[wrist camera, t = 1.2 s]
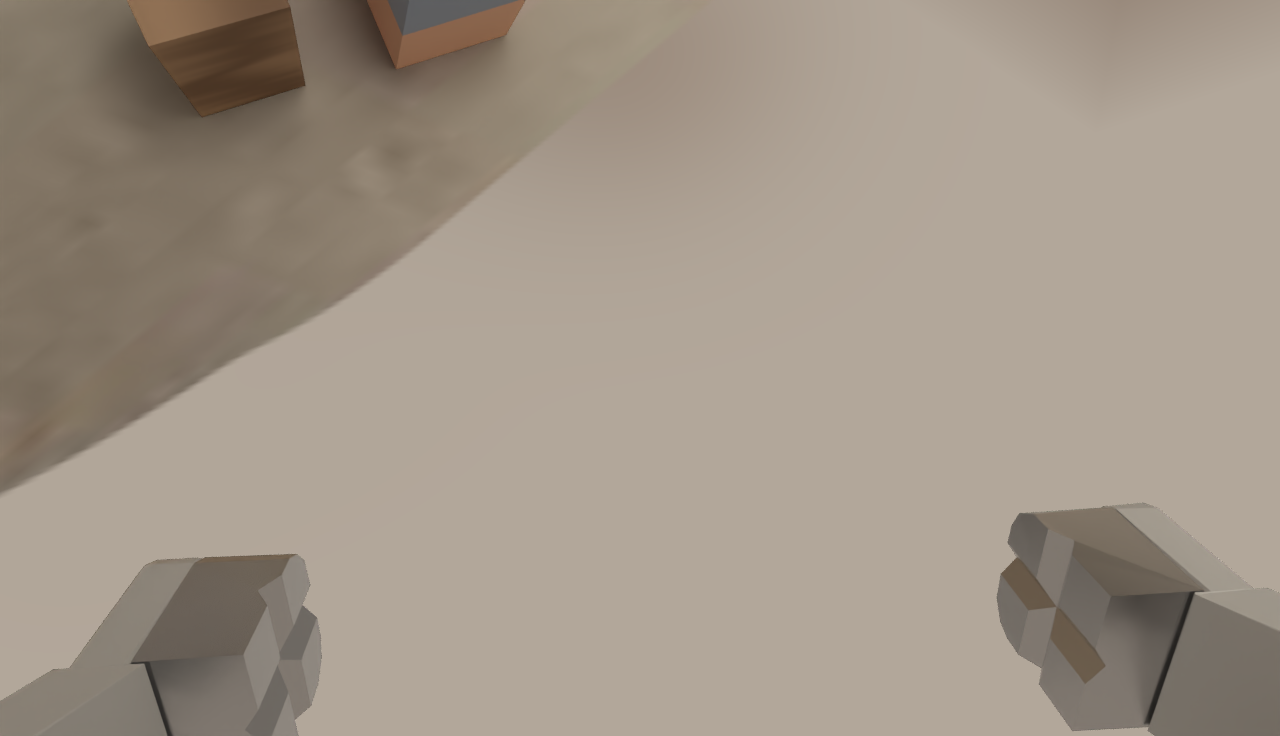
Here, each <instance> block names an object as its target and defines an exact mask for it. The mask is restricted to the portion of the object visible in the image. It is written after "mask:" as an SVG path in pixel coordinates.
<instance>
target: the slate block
mask: <svg viewBox="0 0 1280 736" xmlns="http://www.w3.org/2000/svg"><path fill="white" fill-rule="evenodd" d="M515 1H518V0H388V3H389V5H390V7H391V10H392V12H393V15H394V17H395V19H396V22H397V24H398V26H399V29H400V31H401V34H402V36H404V35H407V34H410V33H414V32H417V31H420V30H423V29H427V28H430V27H433V26H436V25H440V24H443V23H446V22H449V21H453V20H456V19H459V18H463V17H466V16H469V15H472V14H476V13H479V12H482V11H485V10H489V9H492V8H495V7H498V6H502V5H505V4H508V3H511V2H515Z"/></svg>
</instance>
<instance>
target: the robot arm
mask: <svg viewBox="0 0 1280 736" xmlns="http://www.w3.org/2000/svg"><path fill="white" fill-rule="evenodd" d="M1008 544H1009V545H1010V547H1011V549H1012V551H1013V552H1014V554H1015V555H1016V557H1017V558H1016V559H1015V560H1014V561H1013V562H1012V563H1011V564H1010V565H1009V566H1008V567H1007V568H1006V569H1005V570H1004V571H1003V572H1002V573H1001V576H1000V582H999V588H998V593H997V602H998V609H999V616H1000V622H1001V624H1002V627H1003V629H1004V632H1005V634H1006V636H1007V639H1008V640H1009V641H1010V643H1011V644H1012V646H1013V647H1014V649H1015V650H1016V652H1017V653H1018V655H1020V656H1022V657H1024V658H1025V659H1027V660H1028V661H1030V662H1032V663H1034V664H1035V665H1037V666H1039V667H1040V668H1042V669H1041V675H1040V681H1039V685H1040V686H1041V688H1042V689H1043V690H1044V692H1045V693H1046V695H1047V696H1048V697H1049V699H1050V700H1051V701H1052V703H1053V704H1054V706H1055V707H1056V709H1057V710H1058V712H1059V713H1060V714H1061V716H1062V717H1063V718H1064V720H1065V721H1066V723H1067V724H1068V726H1069V727H1070V728H1071V730H1072V731H1081V730H1100V729H1119V728H1139V727H1149V728H1148V731H1149V732H1150V733H1152V734H1153V735H1154V736H1280V593H1279V592H1276V591H1274V590H1272V589H1269V588H1257V589H1254V588H1253V587H1252V586H1250V585H1249V584H1248V583H1247V582H1246V581H1244V580H1243V579H1242V578H1241V577H1240V576H1239V575H1237V574H1236V573H1235V572H1234V571H1233V570H1231V569H1230V568H1229V567H1228V566H1227V565H1225V564H1224V563H1223V562H1222V561H1221V560H1220V559H1218V558H1217V557H1216V556H1215V555H1213V554H1212V553H1211V552H1210V551H1209V550H1208V549H1207V548H1205V547H1204V546H1203V545H1202V544H1200V543H1199V542H1198V541H1197V540H1196V539H1195V538H1193V537H1192V536H1191V535H1190V534H1189V533H1188V532H1186V531H1185V530H1184V529H1183V528H1181V527H1180V526H1179V525H1178V524H1177V523H1176V522H1174V521H1173V520H1172V519H1171V518H1170V517H1169V516H1167V515H1166V514H1165V513H1164V512H1163V511H1161V510H1160V509H1159V508H1157V507H1154V506H1152V505H1149V504H1146V503H1136V504H1126V505H1115V506H1103V507H1101V508H1090V509H1076V510H1061V511H1047V512H1031V513H1020V514H1019V515H1018V516H1017V518H1016V520H1015V521H1014V522H1013V524H1012V526H1011V531H1010V535H1009V539H1008ZM309 587H310V582H309V578H308V574H307V570H306V566H305V562H304V560H303V559H302V558H301V557H300V556H298V555H297V554H284V555H257V556H231V557H205V558H203V559H201V558H185V559H167V560H156V561H153V562H151V563H149V564H147V565H145V566H144V567H143V568H142V570H141V571H140V572H139V574H138V575H137V576H136V578H135V579H134V580H133V582H132V583H131V584H130V586H129V587H128V588H127V590H126V591H125V593H124V594H123V595H122V597H121V598H120V599H119V601H118V602H117V604H116V605H115V606H114V608H113V609H112V610H111V612H110V613H109V614H108V616H107V617H106V619H105V620H104V621H103V623H102V624H101V626H100V627H99V628H98V630H97V631H96V632H95V634H94V635H93V636H92V638H91V639H90V640H89V642H88V643H87V645H86V646H85V647H84V649H83V650H82V652H81V653H80V654H79V656H78V657H77V658H76V660H75V661H74V662H73V664H72V665H71V666H70V668H66V669H53V670H51V671H50V672H48V673H46V674H45V675H43V676H41V677H40V678H38V679H36V680H35V681H33V682H31V683H30V684H28V685H26V686H25V687H23V688H21V689H20V690H18V691H16V692H15V693H13V694H11V695H10V696H8V697H6V698H5V699H3V700H1V701H0V736H298V732H297V728H296V723H295V719H296V718H297V717H299V716H300V715H301V714H302V713H303V712H304V711H306V710H307V708H309V707H310V706H311V705H312V701H313V698H314V695H315V692H316V689H317V686H318V681H319V673H320V665H321V658H322V655H321V635H320V630H319V625H318V620H317V617H316V616H315V615H313V614H312V613H311V612H310V611H309V610H308V609H306V608H305V607H304V606H303V605H302V604H303V602H304V599H305V597H306V595H307V592H308V590H309Z"/></svg>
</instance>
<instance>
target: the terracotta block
mask: <svg viewBox="0 0 1280 736" xmlns="http://www.w3.org/2000/svg"><path fill="white" fill-rule="evenodd" d="M367 2H368V4H369V7H370V9H371V11H372V14H373V16H374V18H375V21H376V23H377V25H378V28H379V30H380V33H381V35H382V37H383V40H384V42H385V44H386V47H387V49H388V51H389V54H390V56H391V58H392V61H393V63H394V66H395V68H396V69H399V68H403V67H406V66H409V65H412V64H415V63H418V62H422V61H425V60H428V59H431V58H434V57H438V56H441V55H444V54H447V53H450V52H453V51H457V50H460V49H463V48H466V47H469V46H472V45H476V44H479V43H482V42H485V41H488V40H492V39H495V38H498V37H501V36H504V35H506V34H507V32H508V31H509V29H510V27H511V25H512V23H513V22H514V20H515V18H516V16H517V15H518V13H519V11H520V9H521V7H522V6H523V4H524V2H525V0H518V1H515V2H511V3H508V4H505V5H502V6H498V7H495V8H492V9H489V10H485V11H482V12H479V13H476V14H472V15H469V16H466V17H463V18H459V19H456V20H453V21H449V22H446V23H443V24H440V25H436V26H433V27H430V28H427V29H423V30H420V31H417V32H414V33H410V34H407V35H404V36H402V34H401V31H400V29H399V26H398V24H397V22H396V19H395V17H394V15H393V12H392V10H391V7H390V5H389V3H388V0H367Z"/></svg>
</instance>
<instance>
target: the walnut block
mask: <svg viewBox="0 0 1280 736" xmlns="http://www.w3.org/2000/svg"><path fill="white" fill-rule="evenodd" d="M127 2H128V4H129V6H130V8H131V10H132V12H133V15H134V17H135V19H136V21H137V23H138V25H139V27H140V29H141V31H142V33H143V36H144V38H145V40H146V42H147V44H148V46H149V48H150V49H151V50H152V52H153V53H154V54H155V56H156V57H157V58H158V60H159V61H160V62H161V63H162V65H163V66H164V67H165V69H166V70H167V71H168V73H169V74H170V75H171V77H172V78H173V79H174V81H175V82H176V83H177V85H178V86H179V87H180V89H181V90H182V91H183V93H184V94H185V95H186V97H187V98H188V99H189V101H190V102H191V103H192V105H193V106H194V107H195V109H196V110H197V111H198V113H199V114H200V115H201V117H205V116H208V115H211V114H214V113H218V112H221V111H224V110H227V109H231V108H234V107H237V106H240V105H244V104H247V103H250V102H253V101H257V100H260V99H263V98H266V97H270V96H273V95H276V94H279V93H283V92H286V91H289V90H292V89H296V88H299V87H302V86H305V81H304V76H303V71H302V66H301V60H300V55H299V50H298V45H297V40H296V35H295V29H294V24H293V19H292V14H291V9H290V5H289V3H288V1H287V0H127Z"/></svg>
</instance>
